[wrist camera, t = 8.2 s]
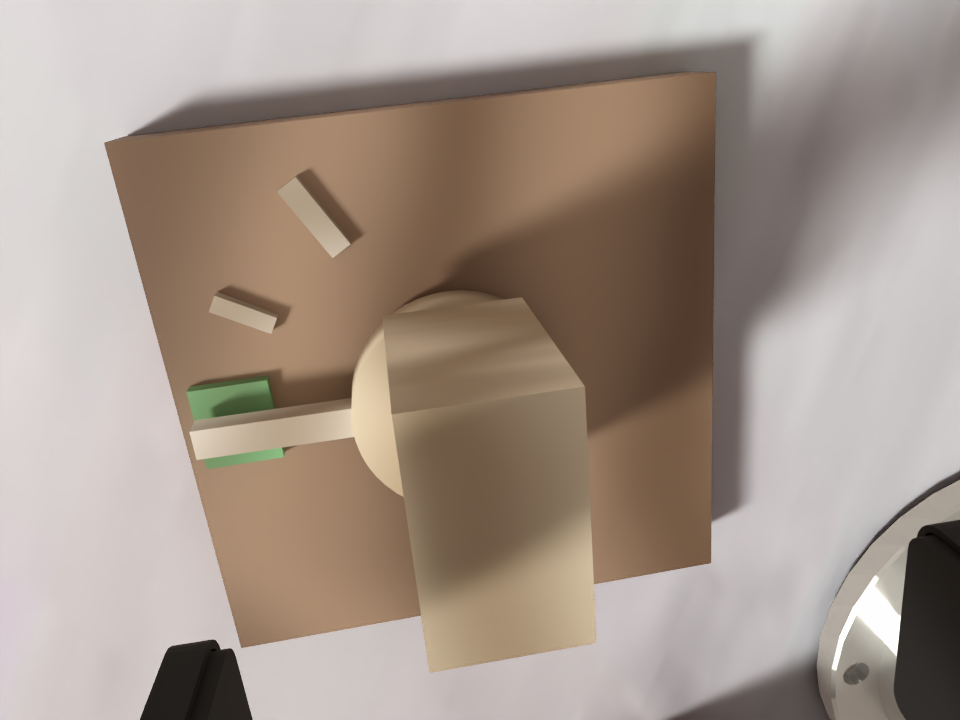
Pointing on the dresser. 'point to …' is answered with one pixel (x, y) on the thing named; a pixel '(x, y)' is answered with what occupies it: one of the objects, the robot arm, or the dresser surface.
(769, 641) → the dresser surface
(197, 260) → the dial board
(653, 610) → the dresser surface
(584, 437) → the knob
